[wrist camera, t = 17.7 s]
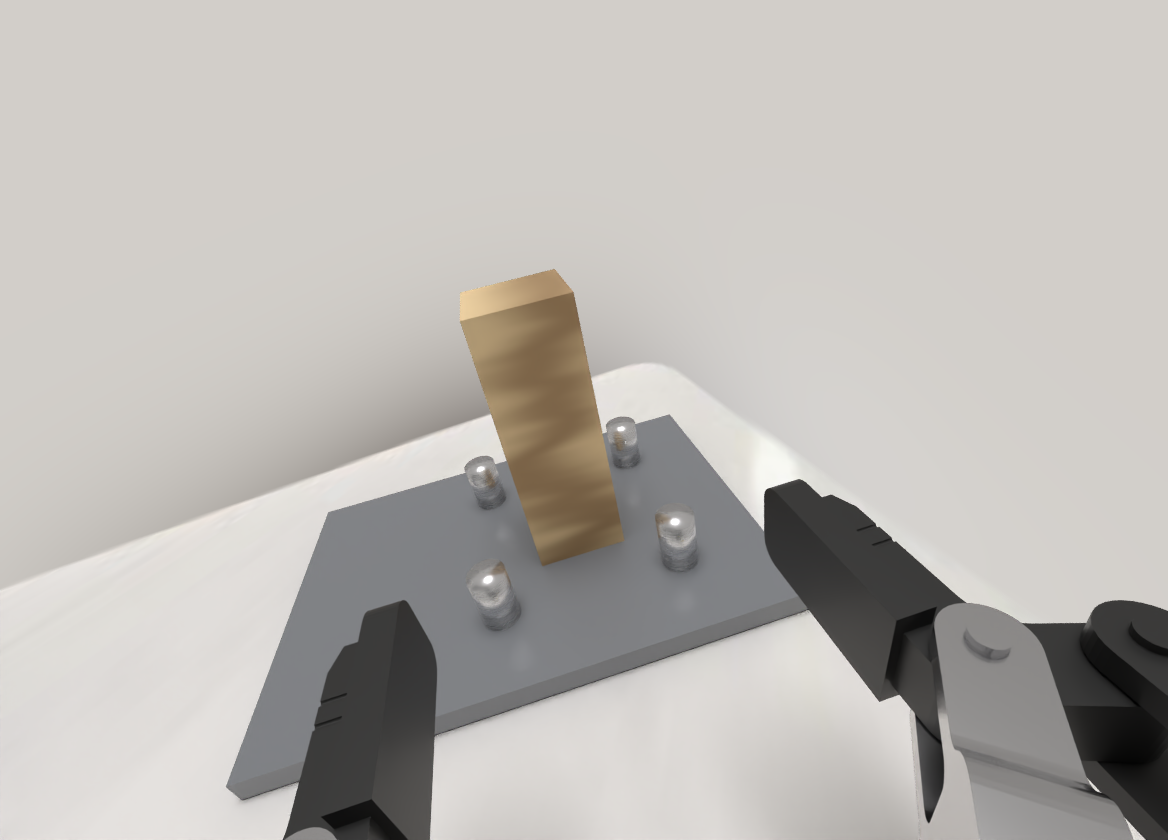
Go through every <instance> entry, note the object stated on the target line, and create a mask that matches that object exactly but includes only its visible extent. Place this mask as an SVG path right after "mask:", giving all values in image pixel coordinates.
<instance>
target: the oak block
mask: <svg viewBox="0 0 1168 840" xmlns="http://www.w3.org/2000/svg"><path fill="white" fill-rule="evenodd" d="M460 323H461V326H462V329H463V332H464V335H465V338H466V341H467V343H468V346H469V349H470V352H471V355H472V358H473V361H474V364H475V367H476V370H477V373H478V376H479V379H480V382H481V385H482V388H483V391H484V394H485V397H486V400H487V403H488V406H489V409H490V412H491V415H492V418H493V421H494V424H495V427H496V430H497V433H498V436H499V439H500V442H501V445H502V448H503V451H504V454H505V457H506V460H507V463H508V466H509V469H510V472H511V475H512V478H513V481H514V484H515V487H516V489H517V492H518V495H519V498H520V501H521V504H522V507H523V510H524V513H525V516H526V519H527V522H528V525H529V528H530V531H531V534H532V537H533V540H534V543H535V546H536V549H537V552H538V555H539V558H540V561H541V564H542V566H545V565H548V564H551V563H555V562H558V561H561V560H564V559H567V558H571V557H574V556H577V555H580V554H584V553H587V552H590V551H593V550H596V549H600V548H603V547H606V546H609V545H613V544H616V543H619V542H622V541H624V536H623V531H622V527H621V522H620V517H619V512H618V507H617V502H616V497H615V492H614V488H613V483H612V478H611V473H610V468H609V463H608V458H607V453H606V449H605V444H604V439H603V434H602V429H601V424H600V419H599V414H598V410H597V405H596V400H595V395H594V390H593V385H592V380H591V376H590V371H589V366H588V361H587V356H586V351H585V346H584V341H583V337H582V332H581V327H580V322H579V317H578V312H577V307H576V303H575V297H574V293H573V291H572V290H571V289H570V287H569V286H568V285H567V284H566V282H564V280H563V279H562V278H561V276H560V275H559V274H558V273H557V271H556V270H555V269H553V270H550V271H545V272H541V273H537V274H533V275H529V276H525V277H521V278H517V279H513V280H509V281H505V282H501V283H497V284H493V285H489V286H485V287H481V288H477V289H473V290H469V291H465V292H461V293H460Z"/></svg>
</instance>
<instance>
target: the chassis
mask: <svg viewBox="0 0 1168 840" xmlns="http://www.w3.org/2000/svg"><path fill="white" fill-rule="evenodd" d="M606 429H607V433H603V439H604V444H605V449H606V453H607V458H608V463H609V468H610V473H611V478H612V483H613V488H614V492H615V497H616V502H617V507H618V512H619V517H620V522H621V527H622V531H623V536H624V541H622V542H619V543H616V544H613V545H609V546H606V547H603V548H600V549H596V550H593V551H590V552H587V553H584V554H580V555H577V556H574V557H571V558H567V559H564V560H561V561H558V562H555V563H551V564H548V565H545V566H542V564H541V561H540V558H539V555H538V552H537V549H536V546H535V543H534V540H533V537H532V534H531V531H530V528H529V525H528V522H527V519H526V516H525V513H524V510H523V507H522V504H521V501H520V498H519V495H518V492H517V489H516V487H515V484H514V481H513V478H512V475H511V472H510V469H509V466H508V463H507V461H506V462H502V463H499V464H495V463H494V460H493V458H491V457H489V456H480V457H477V458H474V459H472V460H471V461H469V462H468V463H467V464H466V466H465V472H466V473H464V474H460V475H457V476H453V477H450V478H447V479H443V480H440V481H436V482H433V483H429V484H426V485H422V486H419V487H415V488H412V489H408V490H405V491H401V492H398V493H394V494H391V495H387V496H384V497H380V498H377V499H373V500H370V501H366V502H363V503H359V504H356V505H352V506H349V507H345V508H342V509H339V510H335V511H332V512H328V515H327V517H326V520H325V523H324V525H323V528H322V531H321V533H320V536H319V539H318V542H317V544H316V547H315V550H314V552H313V555H312V558H311V560H310V563H309V566H308V568H307V571H306V574H305V576H304V579H303V582H302V584H301V587H300V590H299V592H298V595H297V598H296V600H295V603H294V606H293V609H292V611H291V614H290V617H289V619H288V622H287V625H286V627H285V630H284V633H283V635H282V638H281V641H280V643H279V646H278V649H277V651H276V654H275V657H274V659H273V662H272V665H271V667H270V670H269V673H268V676H267V678H266V681H265V684H264V686H263V689H262V692H261V694H260V697H259V700H258V702H257V705H256V708H255V710H254V713H253V716H252V718H251V721H250V724H249V726H248V729H247V732H246V735H245V737H244V740H243V743H242V745H241V748H240V751H239V753H238V756H237V759H236V761H235V764H234V767H233V769H232V772H231V775H230V777H229V780H228V783H227V785H226V787H227V788H228V789H229V790H230V791H231V792H233V793H234V794H235V795H236V796H237V797H239V798H240V799H241V800H243V799H246V798H249V797H252V796H255V795H258V794H261V793H264V792H267V791H270V790H273V789H276V788H279V787H282V786H285V785H288V784H291V783H294V782H297V781H300V777H301V773H302V769H303V765H304V762H305V758H306V754H307V750H308V746H309V742H310V738H311V735H312V731H314V730H315V726H314V723H315V719H316V715H317V711H318V707H320V706H321V702H320V700H321V696H322V692H323V688H324V684H325V680H326V677H327V673H328V671H329V670H330V668H331V667H332V665H333V663H334V662H335V660H336V658H337V657H338V655H339V654H340V652H341V650H342V649H343V647H344V646H346V645H349V644H353V643H356V642H358V639H359V634H360V629H361V625H362V620H363V617H364V614H365V613H366V612H367V611H369V610H372V609H376V608H379V607H382V606H385V605H389V604H392V603H395V602H398V601H401V600H405V601H407V602H408V603H409V605H410V607H411V608H412V610H413V612H414V614H415V615H416V617H417V619H418V621H419V623H420V624H421V626H422V628H423V630H424V631H425V633H426V635H427V637H428V638H429V640H430V642H431V644H432V646H433V649H434V653H435V657H436V663H437V692H436V714H435V735H437V734H439V733H442V732H445V731H448V730H451V729H454V728H457V727H460V726H463V725H466V724H469V723H472V722H475V721H478V720H481V719H484V718H487V717H490V716H493V715H496V714H499V713H502V712H505V711H508V710H511V709H514V708H517V707H520V706H523V705H526V704H529V703H532V702H535V701H537V700H540V699H543V698H546V697H549V696H552V695H555V694H558V693H561V692H564V691H567V690H570V689H573V688H576V687H579V686H582V685H585V684H588V683H591V682H594V681H597V680H600V679H603V678H606V677H609V676H612V675H615V674H618V673H621V672H624V671H627V670H630V669H633V668H635V667H638V666H641V665H644V664H647V663H650V662H653V661H656V660H659V659H662V658H665V657H668V656H671V655H674V654H677V653H680V652H683V651H686V650H689V649H692V648H695V647H698V646H701V645H704V644H707V643H710V642H713V641H716V640H719V639H722V638H725V637H728V636H731V635H733V634H736V633H739V632H742V631H745V630H748V629H751V628H754V627H757V626H760V625H763V624H766V623H769V622H772V621H775V620H778V619H781V618H784V617H787V616H790V615H793V614H796V613H799V612H802V611H805V610H808V608H807V607H806V605H805V604H804V603H803V601H802V600H801V599H800V598H799V596H798V595H797V594H796V592H795V591H794V590H793V588H792V587H791V586H790V585H789V583H788V582H787V581H786V579H785V578H784V577H783V575H782V574H781V573H780V572H779V570H778V569H777V568H776V566H775V565H774V563H773V562H772V560H771V558H770V556H769V554H768V551H767V548H766V544H765V538H764V531H763V530H762V528H761V527H760V526H759V525H758V524H757V522H756V521H755V520H754V519H753V517H752V516H751V515H750V514H749V512H748V511H747V510H746V509H745V507H744V506H743V505H742V504H741V502H740V501H739V500H738V499H737V498H736V496H735V495H734V494H733V493H732V491H731V490H730V489H729V488H728V486H727V485H726V484H725V483H724V481H723V480H722V479H721V478H720V476H719V475H718V474H717V473H716V471H715V470H714V469H713V468H712V467H711V465H710V464H709V463H708V462H707V460H706V459H705V458H704V457H703V455H702V454H701V453H700V452H699V450H698V449H697V448H696V447H695V445H694V444H693V443H692V442H691V440H690V439H689V438H688V437H687V436H686V434H685V433H684V432H683V431H682V429H681V428H680V427H679V426H678V424H677V423H676V422H675V421H674V419H673V418H672V417H671V416H670V414H669V415H666V416H663V417H659V418H656V419H652V420H649V421H645V422H642V423H638V424H635V422H634V420H633V419H632V418H629V417H617V418H614V419H612V420H610V421H609V422H608V423H607V424H606Z"/></svg>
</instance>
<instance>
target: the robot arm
mask: <svg viewBox="0 0 1168 840" xmlns="http://www.w3.org/2000/svg"><path fill="white" fill-rule="evenodd" d="M764 538H765V544H766V548H767V551H768V554H769V556H770V558H771V560H772V562H773V563H774V565H775V566H776V568H777V569H778V570H779V572H780V573H781V574H782V575H783V577H784V578H785V579H786V581H787V582H788V583H789V585H790V586H791V587H792V588H793V590H794V591H795V592H796V594H797V595H798V596H799V598H800V599H801V600H802V601H803V603H804V604H805V605H806V607H807V608H808V609H809V611H810V612H811V613H812V615H813V616H814V617H815V618H816V620H817V621H818V622H819V624H820V625H821V626H822V628H823V629H824V630H825V631H826V633H827V634H828V635H829V637H830V638H831V639H832V641H833V642H834V643H835V645H836V646H837V647H838V648H839V650H840V651H841V652H842V654H843V655H844V656H845V658H846V659H847V660H848V661H849V663H850V664H851V665H852V667H853V668H854V669H855V671H856V672H857V673H858V674H859V676H860V677H861V678H862V680H863V681H864V682H865V684H866V685H867V686H868V688H869V689H870V690H871V691H872V693H873V694H874V695H875V697H876V698H877V699H878V701H879V702H880V701H883V700H886V699H888V698H891V697H894V696H897V695H900V696H901V697H902V698H903V699H904V701H905V702H906V703H907V704H908V706H909V707H910V708H911V710H910V727H911V738H912V749H913V760H914V772H915V783H916V794H917V805H918V817H919V840H1133V837H1132V834H1131V832H1130V829H1129V827H1128V824H1127V822H1126V820H1125V818H1126V819H1127V820H1128V821H1129V822H1130V824H1131V825H1132V826H1133V827H1134V828H1135V829H1136V830H1137V831H1138V832H1139V833H1140V834H1141V835H1142V836H1143V837H1144V838H1145V839H1146V840H1168V611H1166V610H1164V609H1161V608H1158V607H1155V606H1152V605H1148V604H1144V603H1139V602H1134V601H1124V600H1118V601H1109V602H1104V603H1102V604H1100V605H1098V606H1097V607H1095V609H1094V610H1093V611H1092V613H1091V615H1090V617H1089V619H1088V621H1087V623H1047V624H1029V623H1021V622H1019V621H1018V620H1016V619H1015V618H1013V617H1011V616H1010V615H1008V614H1006V613H1004V612H1002V611H999V610H997V609H994V608H991V607H988V606H984V605H980V604H973V603H966V602H965V601H963V600H962V599H961V598H959V597H958V596H957V595H956V594H955V593H953V592H952V591H951V590H950V589H949V588H948V587H947V586H946V585H944V584H943V583H942V582H941V581H940V580H939V579H938V578H937V577H935V576H934V575H933V574H932V573H931V572H930V571H929V570H927V569H926V568H925V567H924V566H923V565H922V564H921V563H920V562H918V561H917V560H916V559H915V558H914V557H913V556H912V555H911V554H909V553H908V552H907V551H906V550H905V549H904V548H903V547H902V546H900V545H899V544H898V543H897V542H893V541H892V538H891V537H890V536H889V535H888V534H887V533H886V532H885V531H883V530H882V529H881V528H880V527H877V526H876V523H874V522H873V521H872V520H871V519H870V518H869V517H868V516H867V515H865V514H864V513H863V512H862V511H861V510H860V509H859V508H857V507H856V506H854V505H852V504H850V503H848V502H846V501H844V500H842V499H839V498H837V497H835V496H833V495H828V496H825V497H821V496H820V495H819V494H818V493H817V492H816V491H814V490H813V489H812V488H811V487H810V486H809V485H808V484H807V483H806V482H804V481H803V480H800V479H798V480H795V481H791V482H788V483H785V484H782V485H778V486H775V487H772V488H769V489H767V490H766V491H765V494H764ZM436 692H437V663H436V657H435V653H434V649H433V646H432V644H431V642H430V640H429V638H428V637H427V635H426V633H425V631H424V630H423V628H422V626H421V624H420V623H419V621H418V619H417V617H416V615H415V614H414V612H413V610H412V608H411V607H410V605H409V603H408V602H407V601H405V600H401V601H398V602H395V603H392V604H389V605H385V606H382V607H379V608H376V609H372V610H369V611H367V612H366V613H365V614H364V617H363V620H362V625H361V629H360V634H359V639H358V642H356V643H353V644H349V645H346V646H344V647H343V649H342V650H341V652H340V654H339V655H338V657H337V658H336V660H335V662H334V663H333V665H332V667H331V668H330V670H329V671H328V673H327V677H326V680H325V684H324V688H323V692H322V696H321V700H320V702H321V706H320V707H318V711H317V715H316V719H315V723H314V726H315V730H314V731H312V735H311V738H310V742H309V746H308V750H307V754H306V758H305V762H304V765H303V769H302V773H301V777H300V781H299V785H298V789H297V793H296V796H295V800H294V804H293V808H292V812H291V816H290V820H289V823H288V827H287V830H286V833H285V835H284V838H283V840H430V823H431V801H432V779H433V757H434V736H435V714H436ZM1087 778H1088V779H1089V780H1090V781H1091V782H1092V783H1093V784H1094V785H1095V786H1096V787H1097V789H1098V790H1099V791H1100V792H1101V793H1100V792H1097V791H1095V790H1094V789H1093V788H1092V786H1091V785H1090V783H1089V781H1088V779H1087ZM1124 817H1125V818H1124Z"/></svg>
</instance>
